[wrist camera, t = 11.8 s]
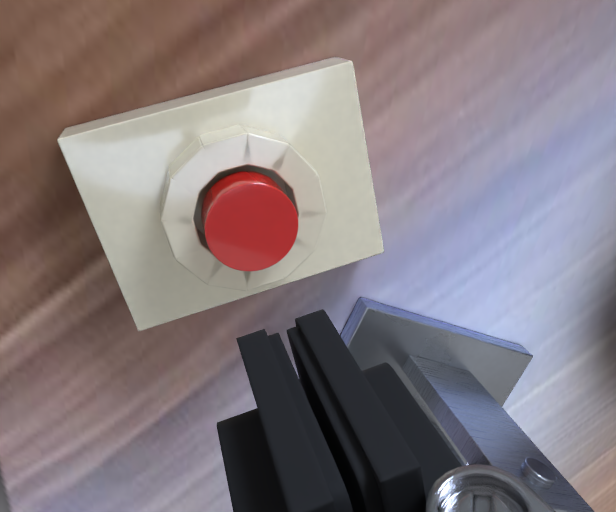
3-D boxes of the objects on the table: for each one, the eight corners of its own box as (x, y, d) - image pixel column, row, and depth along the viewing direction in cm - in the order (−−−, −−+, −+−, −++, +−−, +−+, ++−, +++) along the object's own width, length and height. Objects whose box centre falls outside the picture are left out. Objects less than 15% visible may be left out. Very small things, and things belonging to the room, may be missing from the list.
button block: (138, 308, 27) (137, 354, 24) (63, 128, 23) (48, 150, 19) (368, 236, 29) (399, 268, 25) (336, 56, 25) (368, 64, 21)
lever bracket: (293, 428, 33) (363, 626, 22) (359, 296, 30) (472, 450, 20) (453, 457, 37) (573, 633, 27) (522, 345, 35) (683, 491, 24)
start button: (215, 265, 23) (220, 283, 22) (189, 185, 22) (192, 199, 20) (296, 239, 24) (307, 256, 22) (277, 159, 22) (287, 171, 21)
